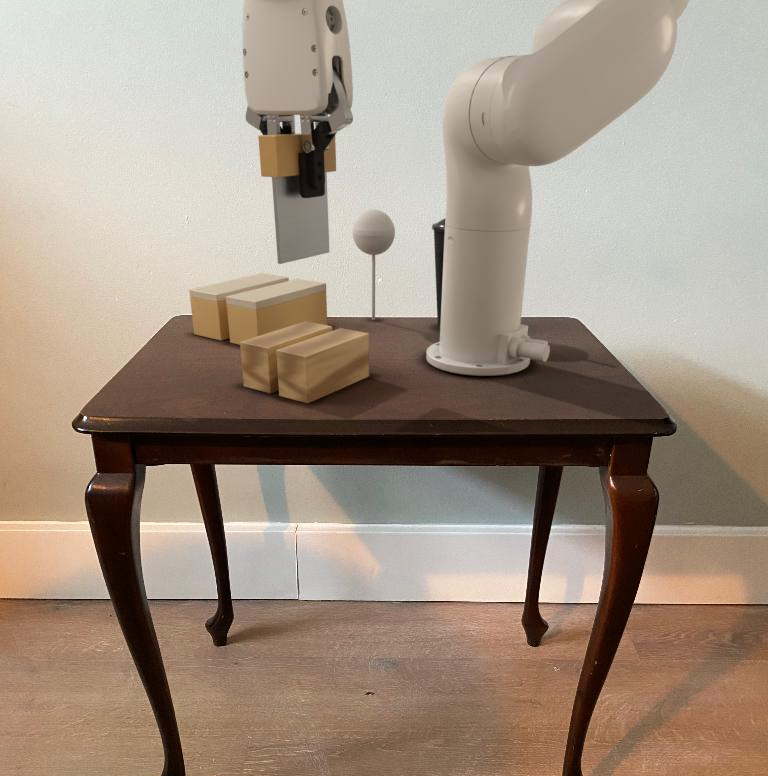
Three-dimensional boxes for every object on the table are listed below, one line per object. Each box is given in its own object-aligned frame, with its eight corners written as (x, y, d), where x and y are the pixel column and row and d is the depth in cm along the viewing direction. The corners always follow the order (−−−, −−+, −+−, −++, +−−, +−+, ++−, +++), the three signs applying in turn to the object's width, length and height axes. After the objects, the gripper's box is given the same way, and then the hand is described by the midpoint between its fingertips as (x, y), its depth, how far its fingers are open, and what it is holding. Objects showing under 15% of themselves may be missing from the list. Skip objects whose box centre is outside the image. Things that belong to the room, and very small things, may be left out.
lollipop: (389, 326, 104) (390, 213, 96) (348, 323, 105) (347, 211, 97) (397, 315, 109) (399, 207, 102) (358, 313, 110) (358, 206, 103)
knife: (339, 252, 79) (335, 133, 73) (284, 265, 73) (275, 135, 67) (323, 250, 80) (318, 132, 75) (267, 263, 74) (257, 135, 68)
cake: (327, 326, 103) (326, 283, 100) (259, 349, 93) (255, 301, 90) (264, 314, 109) (261, 272, 106) (194, 334, 99) (188, 289, 96)
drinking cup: (485, 335, 100) (497, 175, 90) (429, 335, 100) (435, 174, 90) (479, 321, 106) (490, 170, 97) (426, 321, 106) (432, 170, 97)
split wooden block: (369, 376, 84) (369, 333, 82) (307, 403, 76) (305, 356, 74) (307, 362, 89) (305, 321, 86) (243, 386, 81) (239, 341, 78)
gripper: (388, -33, 63) (388, 197, 72) (251, -17, 71) (267, 188, 80) (335, -46, 58) (342, 204, 67) (194, -27, 66) (217, 194, 75)
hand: (301, 194), depth 73 cm, fingers closed on knife, 2 cm apart
